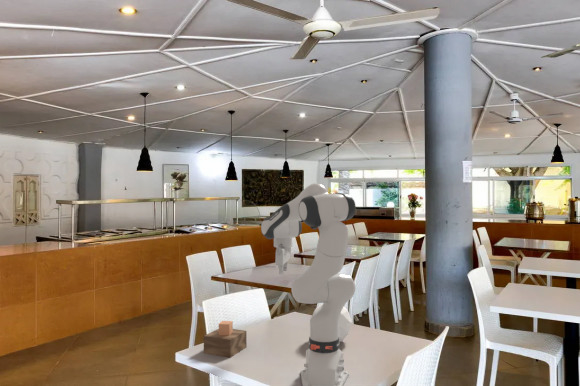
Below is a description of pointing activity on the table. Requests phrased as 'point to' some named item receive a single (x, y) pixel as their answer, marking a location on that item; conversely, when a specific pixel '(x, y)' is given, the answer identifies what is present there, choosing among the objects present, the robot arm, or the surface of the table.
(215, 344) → the walnut box
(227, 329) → the cube
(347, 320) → the polyhedron
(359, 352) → the table surface
